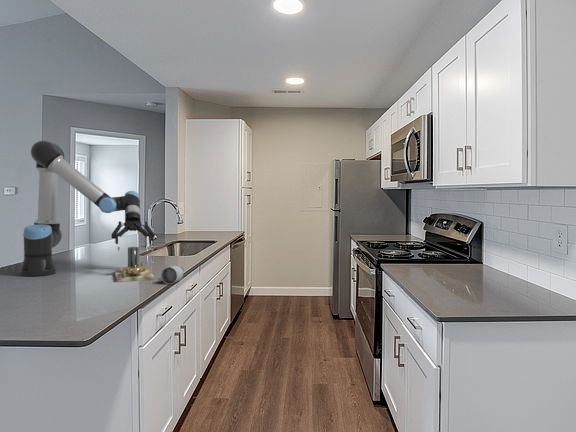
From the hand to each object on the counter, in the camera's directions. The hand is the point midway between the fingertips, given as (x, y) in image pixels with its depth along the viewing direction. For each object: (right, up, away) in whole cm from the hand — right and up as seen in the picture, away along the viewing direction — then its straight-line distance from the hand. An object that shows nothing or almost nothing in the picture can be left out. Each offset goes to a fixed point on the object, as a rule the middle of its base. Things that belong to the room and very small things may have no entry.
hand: (133, 248), depth 210 cm
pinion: (+1, -11, -3) cm, 12 cm away
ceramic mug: (+23, -14, -18) cm, 32 cm away
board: (+1, -13, -4) cm, 14 cm away
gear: (+4, -12, -11) cm, 16 cm away
